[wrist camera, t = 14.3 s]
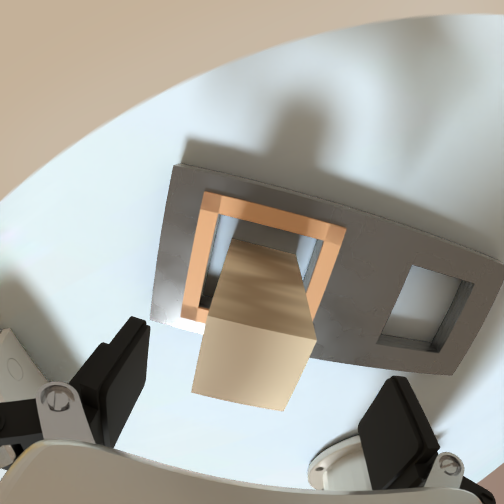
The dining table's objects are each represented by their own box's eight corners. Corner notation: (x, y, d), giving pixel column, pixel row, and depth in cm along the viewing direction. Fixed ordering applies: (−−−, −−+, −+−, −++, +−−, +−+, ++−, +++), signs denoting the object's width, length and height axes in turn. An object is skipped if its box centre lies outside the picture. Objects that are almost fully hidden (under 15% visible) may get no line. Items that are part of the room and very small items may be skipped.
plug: (295, 254, 19) (317, 340, 11) (277, 309, 21) (283, 411, 12) (232, 238, 19) (207, 315, 11) (218, 295, 21) (191, 392, 12)
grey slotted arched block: (-11, 335, 24) (-53, 383, 14) (15, 319, 25) (-28, 367, 15) (76, 444, 29) (66, 504, 19) (104, 434, 30) (98, 498, 20)
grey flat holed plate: (498, 259, 19) (510, 268, 17) (445, 364, 22) (453, 376, 21) (180, 163, 18) (172, 165, 16) (156, 308, 21) (148, 321, 20)
